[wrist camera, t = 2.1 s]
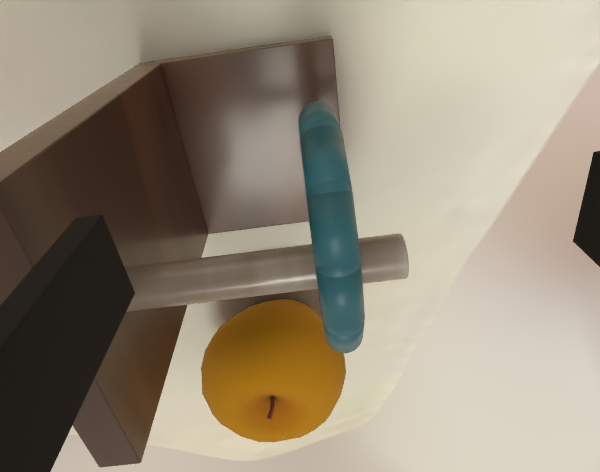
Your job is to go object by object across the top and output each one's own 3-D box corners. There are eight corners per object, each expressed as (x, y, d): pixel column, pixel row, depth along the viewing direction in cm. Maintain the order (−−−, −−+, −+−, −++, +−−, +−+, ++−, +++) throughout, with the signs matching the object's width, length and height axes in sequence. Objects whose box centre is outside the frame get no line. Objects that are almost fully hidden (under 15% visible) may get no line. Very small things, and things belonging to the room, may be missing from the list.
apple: (187, 320, 45) (159, 418, 35) (277, 245, 40) (274, 334, 30) (276, 381, 50) (273, 481, 40) (364, 321, 45) (386, 417, 36)
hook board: (189, 228, 39) (99, 468, 20) (138, 63, 32) (-75, 198, 13) (356, 206, 38) (425, 434, 20) (344, 33, 31) (434, 130, 12)
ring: (317, 259, 30) (333, 406, 20) (294, 82, 24) (300, 165, 14) (343, 256, 30) (372, 402, 20) (326, 78, 24) (356, 158, 14)
